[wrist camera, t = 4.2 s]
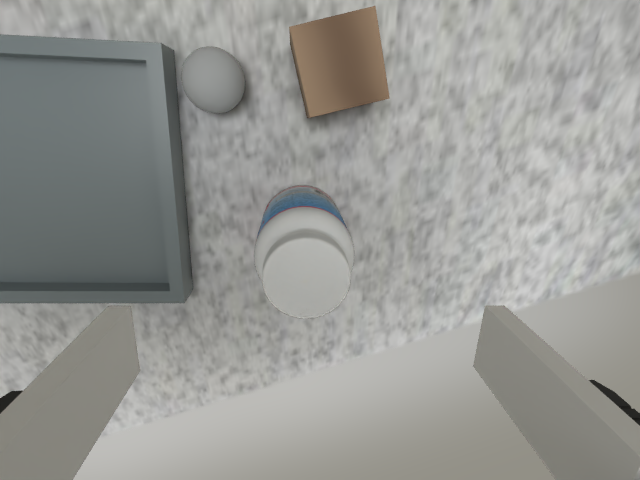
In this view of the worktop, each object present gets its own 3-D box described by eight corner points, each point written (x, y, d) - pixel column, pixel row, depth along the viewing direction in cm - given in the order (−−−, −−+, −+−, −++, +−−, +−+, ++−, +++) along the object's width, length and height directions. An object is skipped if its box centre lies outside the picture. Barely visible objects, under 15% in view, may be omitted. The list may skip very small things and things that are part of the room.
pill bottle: (250, 203, 28) (224, 254, 18) (320, 171, 28) (337, 203, 17) (284, 267, 30) (278, 348, 20) (350, 238, 30) (381, 304, 19)
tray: (-37, 288, 29) (-66, 303, 27) (-113, 35, 23) (-159, 25, 21) (193, 288, 30) (184, 303, 28) (173, 50, 25) (161, 43, 22)
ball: (192, 112, 26) (175, 111, 22) (188, 51, 25) (169, 38, 21) (249, 114, 26) (241, 114, 23) (247, 54, 25) (239, 42, 21)
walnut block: (307, 118, 27) (309, 117, 22) (290, 44, 25) (289, 27, 20) (372, 102, 27) (389, 98, 22) (359, 27, 25) (375, 5, 20)
